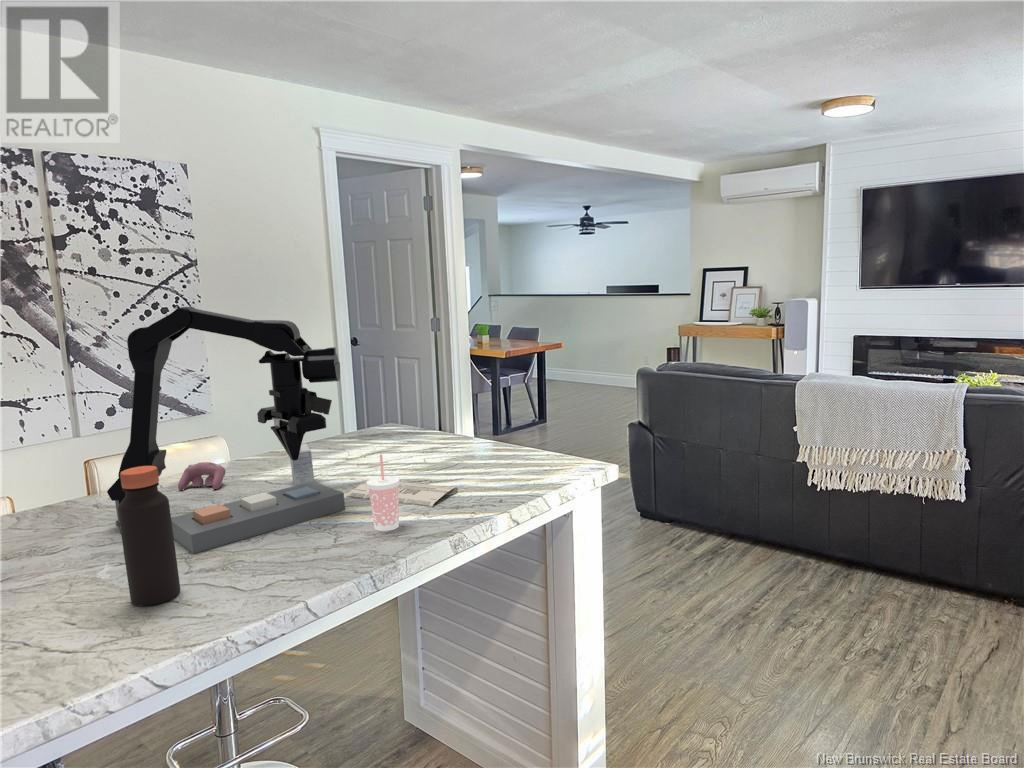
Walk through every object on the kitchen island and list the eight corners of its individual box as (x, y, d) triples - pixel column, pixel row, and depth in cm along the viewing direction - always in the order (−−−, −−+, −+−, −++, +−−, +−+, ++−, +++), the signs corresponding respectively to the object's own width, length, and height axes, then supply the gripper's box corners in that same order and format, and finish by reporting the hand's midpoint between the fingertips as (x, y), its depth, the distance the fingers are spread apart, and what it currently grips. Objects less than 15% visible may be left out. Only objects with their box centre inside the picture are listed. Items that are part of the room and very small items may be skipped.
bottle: (125, 598, 106) (106, 471, 103) (171, 583, 110) (155, 461, 107) (139, 612, 101) (120, 479, 98) (187, 595, 105) (170, 468, 102)
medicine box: (315, 486, 159) (311, 450, 158) (294, 489, 158) (291, 452, 156) (311, 478, 166) (308, 443, 165) (292, 481, 165) (288, 445, 163)
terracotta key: (204, 532, 127) (202, 516, 127) (194, 525, 131) (192, 510, 130) (231, 524, 130) (229, 509, 130) (221, 518, 134) (219, 503, 134)
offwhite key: (252, 518, 133) (250, 503, 133) (242, 513, 137) (240, 498, 136) (277, 511, 136) (275, 497, 136) (266, 506, 140) (265, 492, 140)
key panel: (193, 553, 122) (191, 535, 122) (169, 536, 132) (167, 518, 131) (345, 509, 142) (343, 492, 142) (315, 496, 152) (313, 481, 151)
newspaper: (462, 491, 152) (460, 481, 151) (433, 515, 141) (432, 504, 141) (377, 482, 162) (375, 472, 161) (344, 504, 151) (342, 493, 150)
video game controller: (225, 492, 164) (229, 463, 166) (216, 489, 159) (219, 459, 161) (185, 493, 164) (189, 464, 167) (175, 490, 160) (179, 460, 162)
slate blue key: (297, 511, 139) (295, 497, 139) (285, 506, 143) (284, 492, 142) (319, 505, 143) (318, 491, 142) (308, 500, 146) (307, 486, 146)
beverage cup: (367, 524, 133) (361, 453, 130) (399, 518, 135) (394, 448, 133) (373, 534, 127) (367, 460, 125) (406, 529, 129) (400, 456, 127)
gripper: (347, 382, 137) (353, 459, 139) (303, 375, 150) (309, 445, 153) (294, 390, 129) (301, 471, 132) (252, 382, 143) (260, 455, 145)
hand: (294, 460), depth 141 cm, fingers closed
